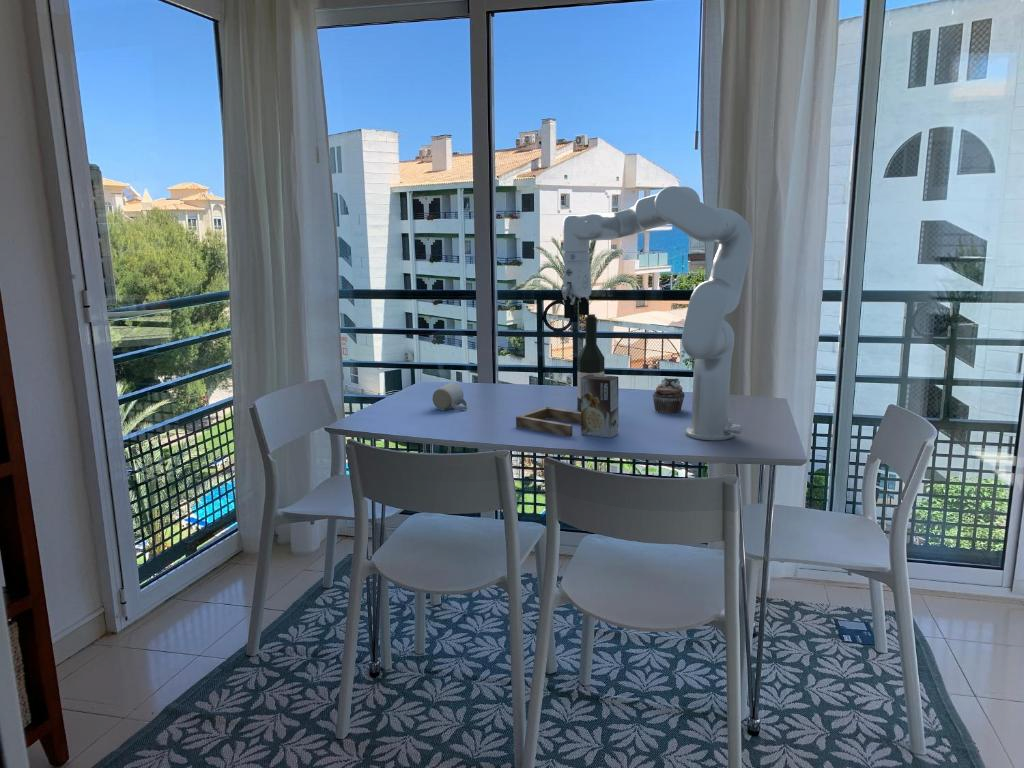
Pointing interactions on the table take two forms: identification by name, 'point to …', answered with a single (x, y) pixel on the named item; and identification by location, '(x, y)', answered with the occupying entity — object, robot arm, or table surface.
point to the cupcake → (668, 396)
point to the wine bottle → (589, 356)
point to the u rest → (538, 423)
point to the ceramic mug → (449, 397)
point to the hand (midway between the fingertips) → (576, 316)
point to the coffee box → (599, 405)
